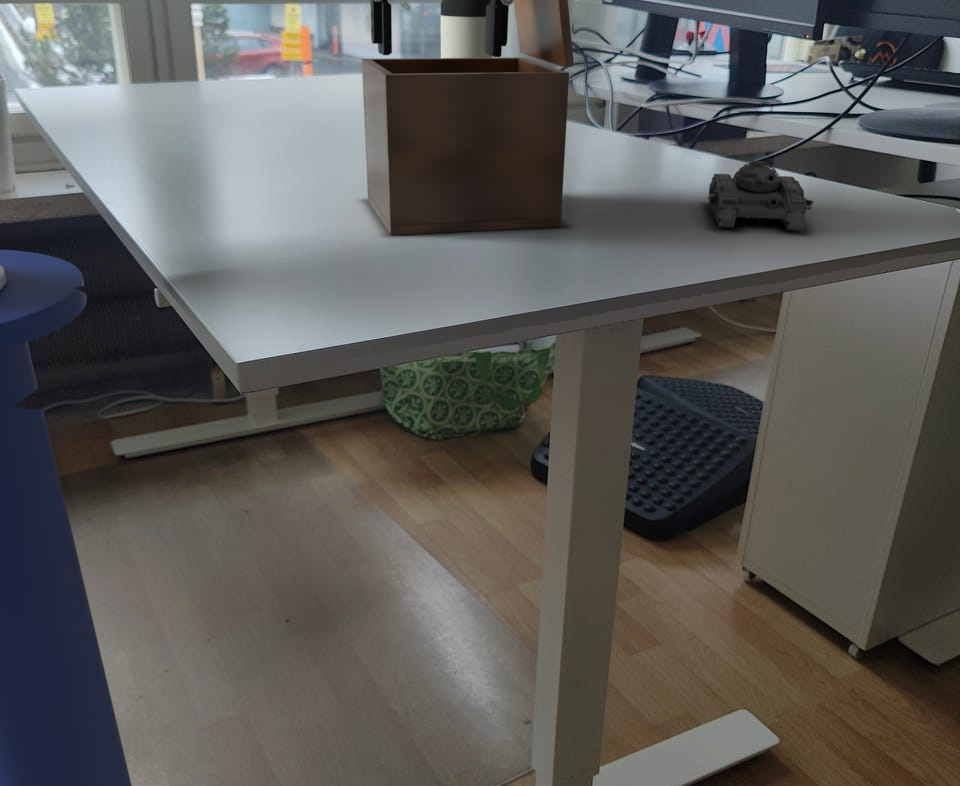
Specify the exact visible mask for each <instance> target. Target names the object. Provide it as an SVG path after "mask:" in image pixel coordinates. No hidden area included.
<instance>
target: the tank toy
mask: <svg viewBox="0 0 960 786" xmlns="http://www.w3.org/2000/svg"><path fill="white" fill-rule="evenodd" d="M707 199H708V206H709V207H710V208H711V211H712V213H713V216H714V218H715V220H716V223H717V225H718V228H730V229H733V228H734V227H735V225H736V220H737V219H738V218H747V219H750V218H751V219H753V220H754V219H757V220H760V219H772V220H773V219H774V220H775V219H776V220H780V221H781V223H782V224H783V225H784V226H785V228H786V230H787V231H797V232H802V231H803V230H804V229H805V226H806V225H805V224H806V223H805V219H806V211H810V210H811V209H812V206H813V204H814V202H815V201H814V200H812V199H808V198H806V197H805V190H804V188H803V187H802V186H801V183H800V181H799V180H796V178H795V177H794V176H789V175H788V176H787V175H780V174H779V173H778V172H777V169H775V168H774V167H773V166H772V164H770V163H768V162H766V161H762V160H751V161H749V162H747V163H745V164H744V165H743V166H741V167H740V168H739V169H738V171H735V173H734V175H733V177H732V176H731V174H729V173H713V176H712V177H711V182H710V183H709V189H708V196H707Z"/></svg>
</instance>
